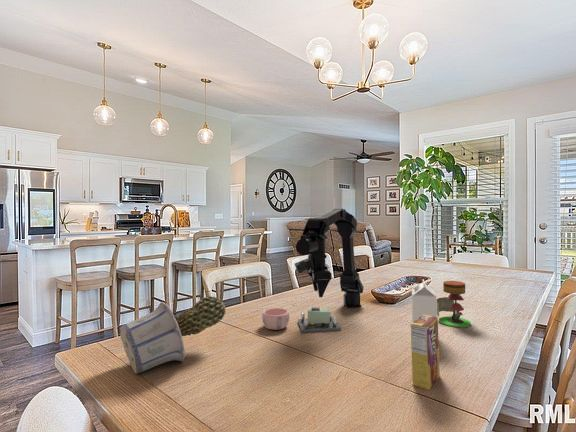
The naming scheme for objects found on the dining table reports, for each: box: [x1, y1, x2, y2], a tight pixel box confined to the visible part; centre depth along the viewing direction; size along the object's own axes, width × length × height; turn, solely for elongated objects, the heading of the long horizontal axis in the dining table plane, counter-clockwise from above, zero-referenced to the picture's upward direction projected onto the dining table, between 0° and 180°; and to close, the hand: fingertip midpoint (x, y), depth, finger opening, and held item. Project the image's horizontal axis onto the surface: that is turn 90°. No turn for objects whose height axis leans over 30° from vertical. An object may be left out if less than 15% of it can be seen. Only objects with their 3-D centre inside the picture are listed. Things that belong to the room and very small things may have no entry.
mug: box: [261, 307, 290, 331], centre depth 123 cm, size 12×10×6 cm
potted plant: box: [119, 296, 227, 374], centre depth 98 cm, size 18×18×30 cm
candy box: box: [410, 315, 441, 391], centre depth 83 cm, size 9×4×15 cm, turn 140°
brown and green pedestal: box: [436, 280, 472, 328], centre depth 124 cm, size 12×13×15 cm
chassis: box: [297, 310, 342, 333], centre depth 123 cm, size 14×11×4 cm
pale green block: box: [307, 306, 331, 323], centre depth 123 cm, size 8×5×5 cm, turn 87°
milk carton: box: [411, 279, 438, 324], centre depth 109 cm, size 7×7×19 cm
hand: (318, 293), depth 123 cm, fingers open, 9 cm apart
